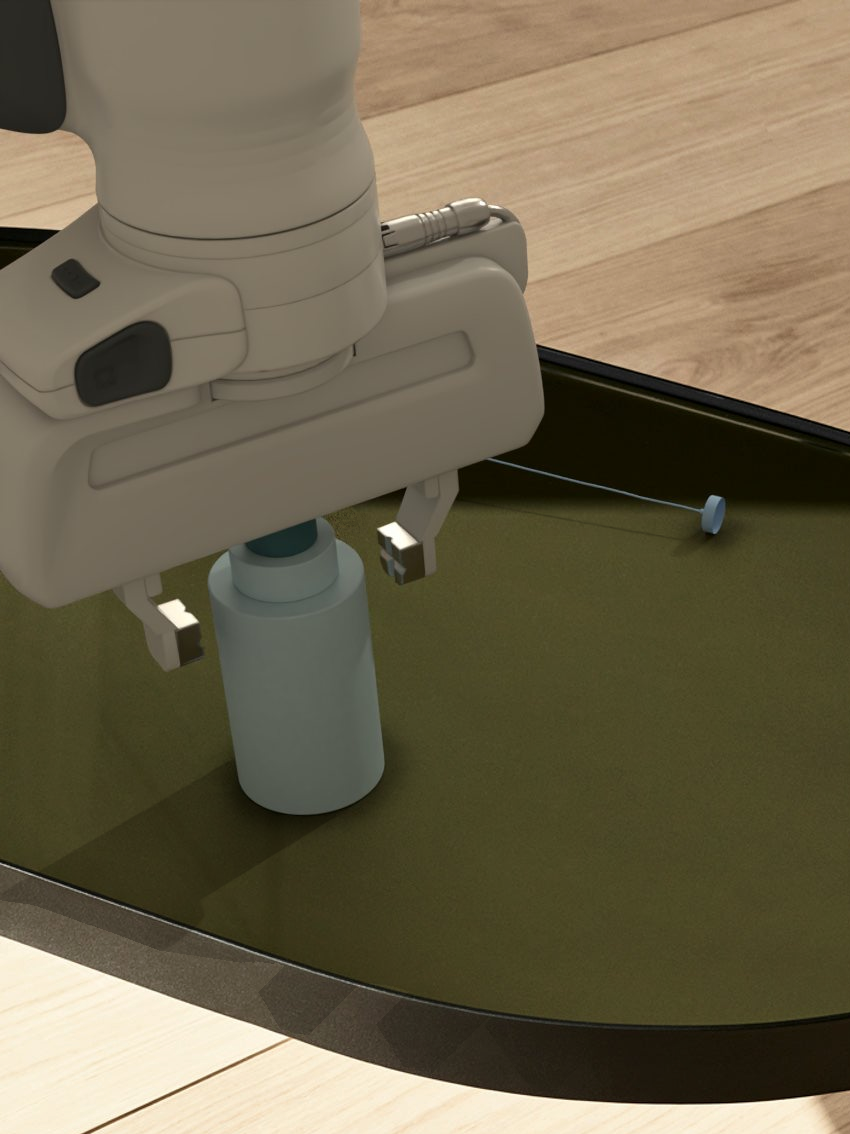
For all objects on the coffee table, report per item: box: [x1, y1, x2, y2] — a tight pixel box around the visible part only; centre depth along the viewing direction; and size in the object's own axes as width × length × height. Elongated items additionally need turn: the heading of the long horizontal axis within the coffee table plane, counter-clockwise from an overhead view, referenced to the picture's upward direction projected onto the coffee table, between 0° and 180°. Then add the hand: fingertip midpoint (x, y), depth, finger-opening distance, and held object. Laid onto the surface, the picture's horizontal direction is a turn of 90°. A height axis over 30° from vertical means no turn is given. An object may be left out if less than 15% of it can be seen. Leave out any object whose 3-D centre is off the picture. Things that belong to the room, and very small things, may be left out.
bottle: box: [207, 516, 385, 816], centre depth 85 cm, size 6×6×12 cm
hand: (295, 614), depth 84 cm, fingers open, 8 cm apart
